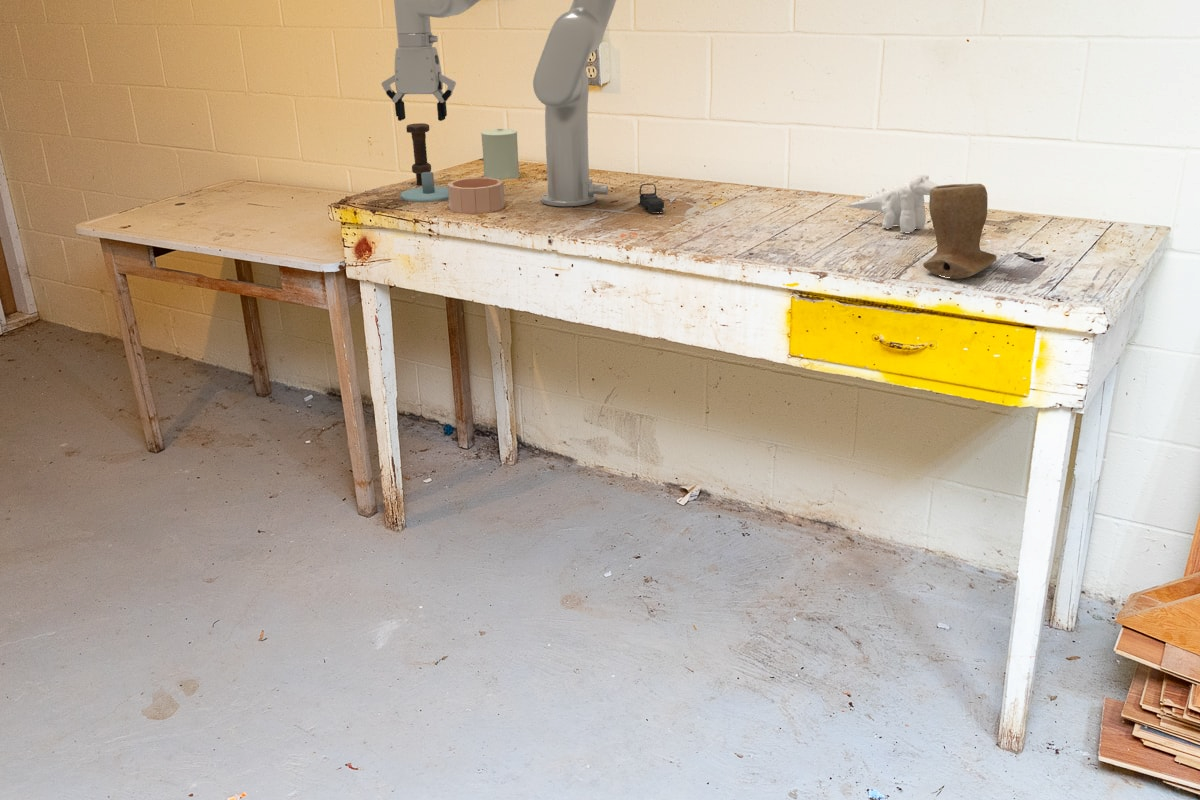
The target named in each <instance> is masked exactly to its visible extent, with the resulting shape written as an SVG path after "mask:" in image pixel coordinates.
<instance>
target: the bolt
mask: <svg viewBox="0 0 1200 800" xmlns="http://www.w3.org/2000/svg"><path fill="white" fill-rule="evenodd" d="M405 129H406V133H408V134H411V139H412V146H413V147H412V149H413V158H414V159H413V160H414V163H413V164H412V166H411V172H412V173H413V174H415V178H416V179H415V181H416V185H417V186H422V178H421V173H423V172H432V165H431V163H430V162H428V153H427V142H426V137H427V136H426V133H428V132H430V125H429V124H428V123H425V122H424V123H421V122H420V123H411V124H407V125H406V127H405Z"/></svg>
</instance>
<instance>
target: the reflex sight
mask: <svg viewBox="0 0 1200 800" xmlns="http://www.w3.org/2000/svg"><path fill="white" fill-rule="evenodd" d="M652 185H653V187H654V193H650V192H649V193H641V192H642V188H643V186H652ZM648 190H649V188H647V191H648ZM638 192H639V203H637V205H641V206H642V207H643V208H642V207H641V206H640V207H641V208H642V209H643V211H645V210H648V211H647V212H648V213H649V212H659V213H658V214H661V213H660V212H663V213H664V211H663V210H664V208H665V201H664V200H663V199H662V198H661V197H658V195H657V187H656V184H654V183H651V182H650V183H642V184H640V186H639V191H638Z"/></svg>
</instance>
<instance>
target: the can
mask: <svg viewBox="0 0 1200 800" xmlns="http://www.w3.org/2000/svg"><path fill="white" fill-rule="evenodd" d="M480 134H481V142H482V146H481V147H482V159H483V175H484V176H483V178H495V179H500V180H506V179H519V178H520V177H521V175H520V168H519V167H520V165H519V150H518V149H519V148H518V147H519V146H518V131H517V130H516V129H510V128H508V129H507V128H495V129H487V130H484V131H481V132H480Z"/></svg>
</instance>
